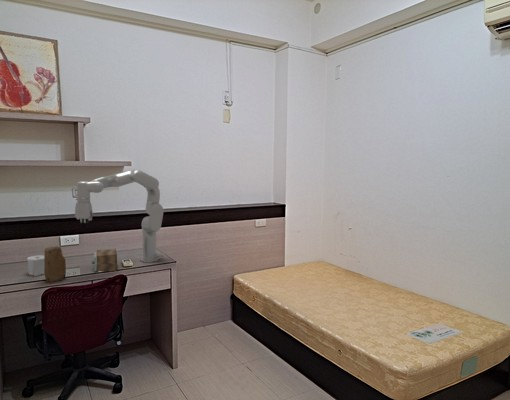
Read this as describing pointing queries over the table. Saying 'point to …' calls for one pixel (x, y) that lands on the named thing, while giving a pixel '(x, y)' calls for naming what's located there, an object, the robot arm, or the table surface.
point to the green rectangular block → (95, 261)
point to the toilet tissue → (36, 265)
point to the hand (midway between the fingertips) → (84, 228)
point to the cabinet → (107, 260)
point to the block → (54, 264)
